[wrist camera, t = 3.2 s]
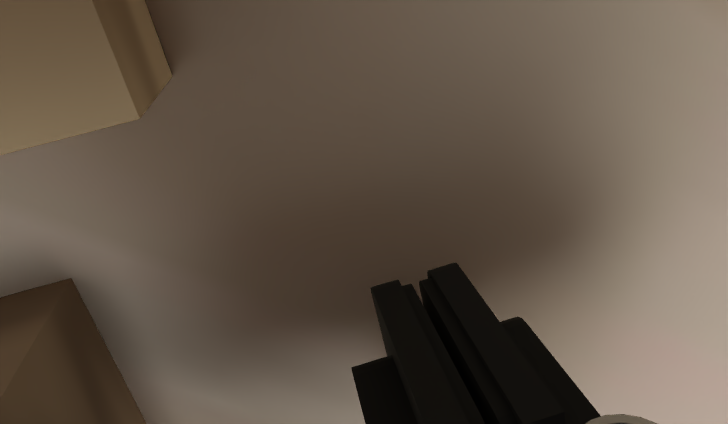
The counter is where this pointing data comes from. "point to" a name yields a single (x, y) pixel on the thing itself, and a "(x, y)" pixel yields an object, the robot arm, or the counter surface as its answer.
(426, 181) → the counter surface
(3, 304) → the walnut block
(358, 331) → the counter surface
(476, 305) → the robot arm
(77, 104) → the trap box
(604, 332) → the counter surface
